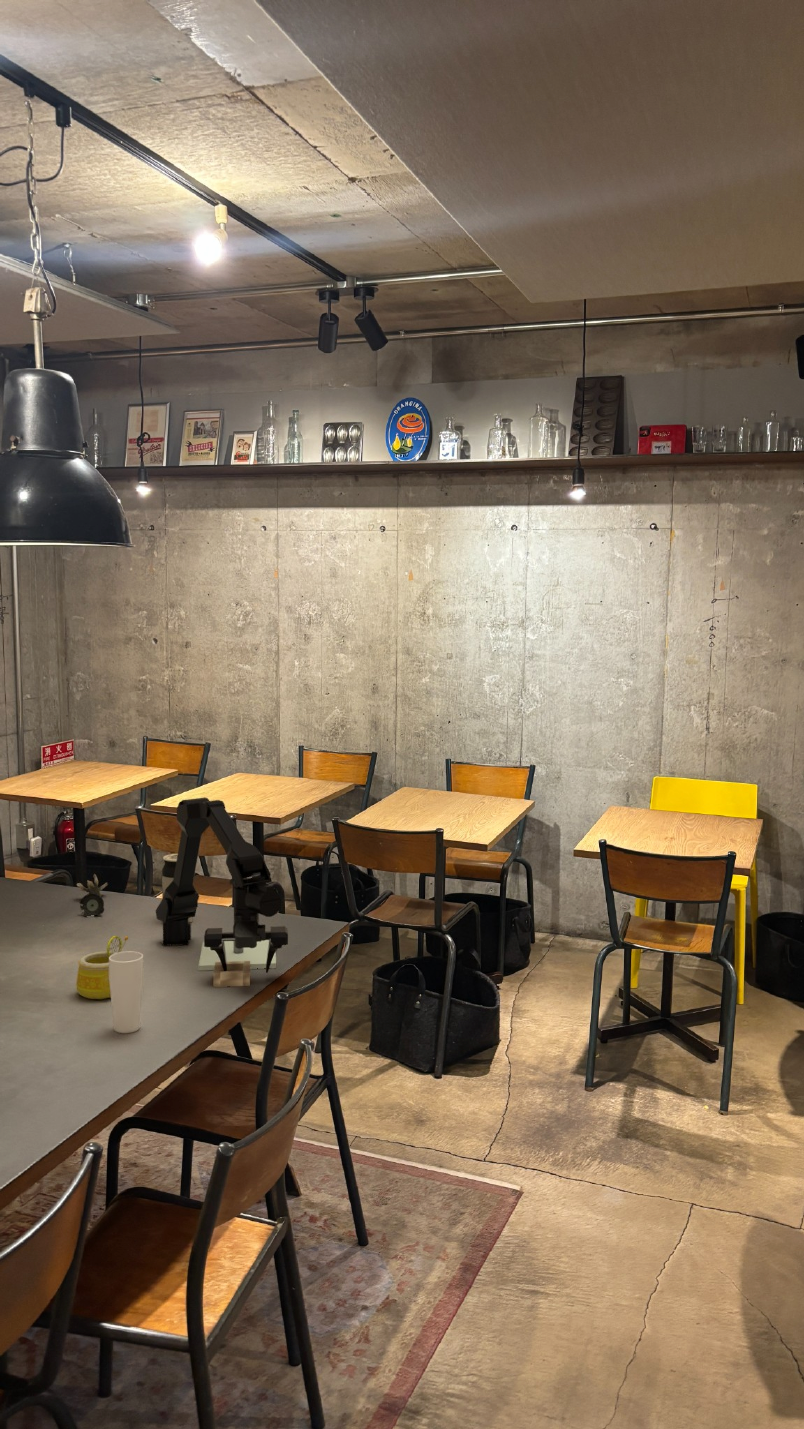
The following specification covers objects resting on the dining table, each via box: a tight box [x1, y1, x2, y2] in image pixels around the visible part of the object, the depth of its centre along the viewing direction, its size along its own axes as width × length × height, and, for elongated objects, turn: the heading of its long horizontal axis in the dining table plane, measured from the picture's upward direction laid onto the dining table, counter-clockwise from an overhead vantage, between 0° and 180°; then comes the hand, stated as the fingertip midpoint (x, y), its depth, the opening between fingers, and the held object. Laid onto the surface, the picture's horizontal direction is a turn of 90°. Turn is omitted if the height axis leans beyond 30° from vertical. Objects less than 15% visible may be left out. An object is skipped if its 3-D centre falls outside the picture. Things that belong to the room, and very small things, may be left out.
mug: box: [76, 935, 129, 1000], centre depth 226 cm, size 13×11×12 cm
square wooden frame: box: [212, 961, 251, 988], centre depth 235 cm, size 8×8×3 cm
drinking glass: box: [109, 950, 145, 1034], centre depth 206 cm, size 7×7×15 cm
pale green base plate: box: [197, 940, 277, 971], centre depth 251 cm, size 18×18×5 cm
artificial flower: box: [76, 873, 108, 918], centre depth 292 cm, size 9×22×10 cm, turn 10°
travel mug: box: [161, 853, 194, 923], centre depth 278 cm, size 8×8×18 cm
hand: (246, 973), depth 235 cm, fingers open, 9 cm apart
